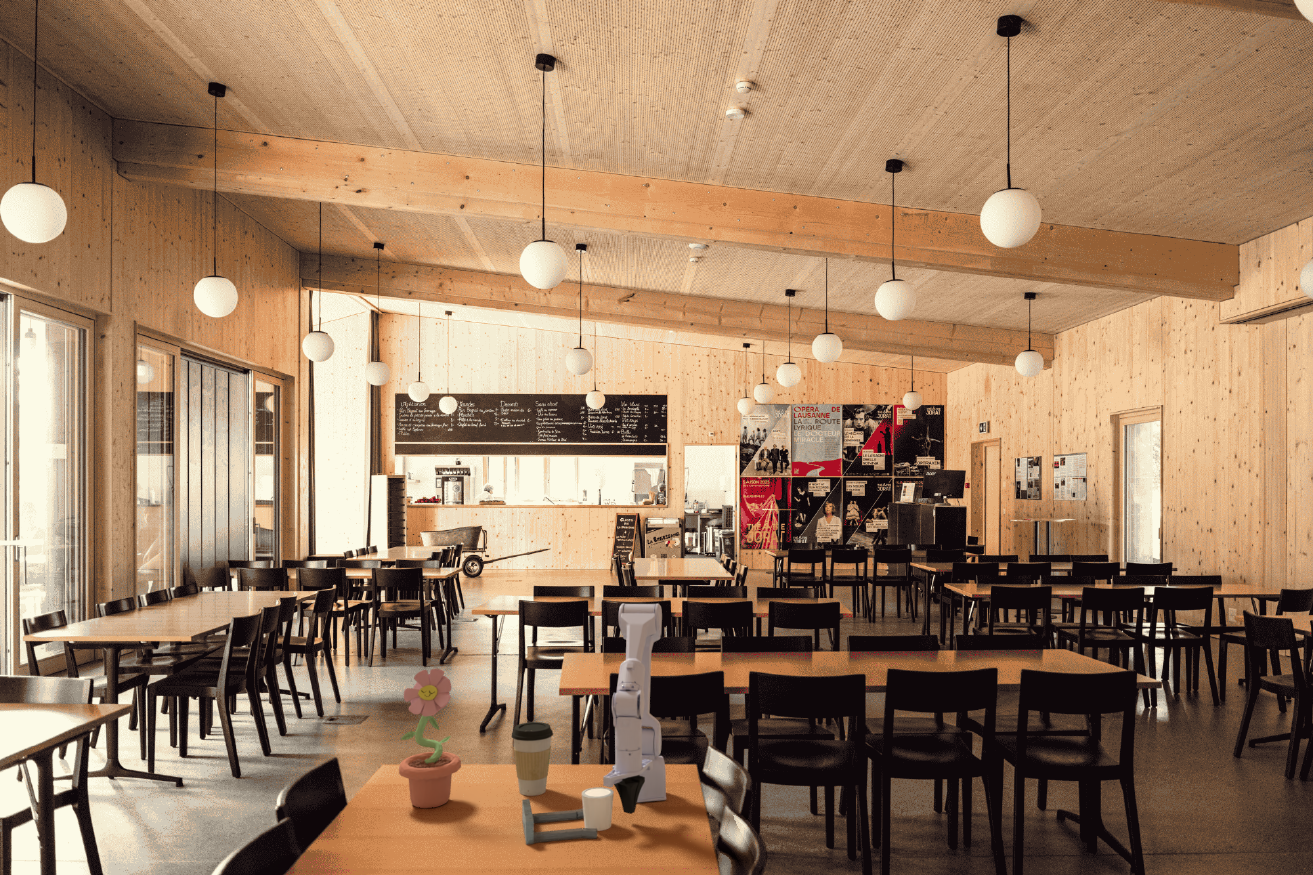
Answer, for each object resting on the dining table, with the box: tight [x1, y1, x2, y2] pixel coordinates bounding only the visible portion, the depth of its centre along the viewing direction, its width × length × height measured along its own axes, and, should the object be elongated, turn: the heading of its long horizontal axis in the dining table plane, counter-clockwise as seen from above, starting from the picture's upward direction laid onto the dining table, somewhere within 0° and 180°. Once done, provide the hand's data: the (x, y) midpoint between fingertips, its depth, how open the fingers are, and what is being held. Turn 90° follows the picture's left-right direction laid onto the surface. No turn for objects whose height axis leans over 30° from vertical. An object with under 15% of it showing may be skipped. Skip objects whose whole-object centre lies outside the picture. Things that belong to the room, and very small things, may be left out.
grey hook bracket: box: [521, 798, 598, 845], centre depth 185 cm, size 15×14×4 cm
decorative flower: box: [398, 668, 462, 809], centre depth 203 cm, size 15×14×30 cm
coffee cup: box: [511, 721, 554, 797], centre depth 209 cm, size 10×10×15 cm
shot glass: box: [581, 786, 614, 832], centre depth 187 cm, size 7×7×7 cm
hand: (629, 812), depth 188 cm, fingers closed
